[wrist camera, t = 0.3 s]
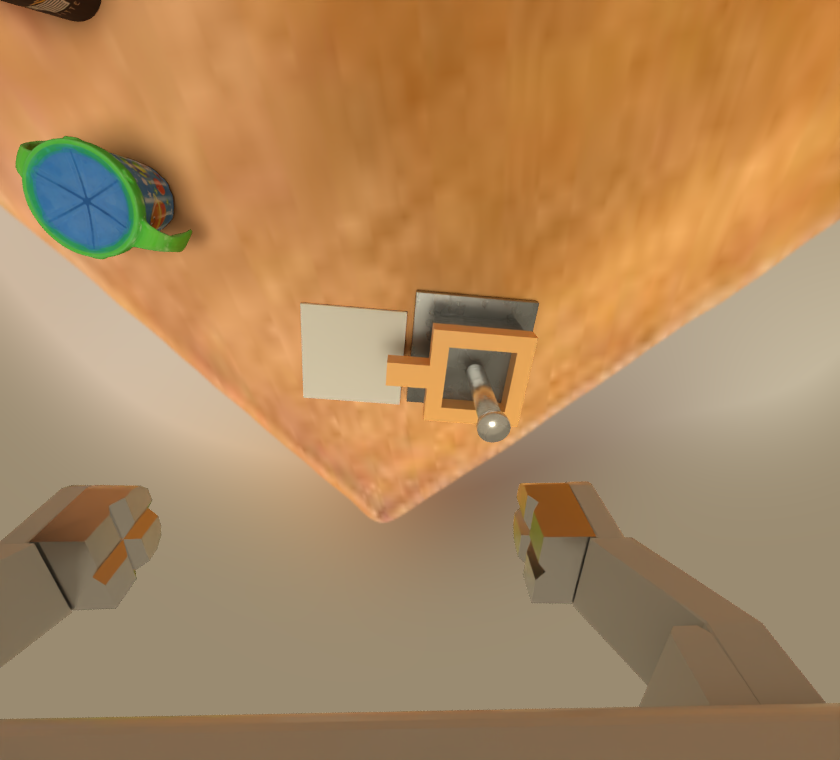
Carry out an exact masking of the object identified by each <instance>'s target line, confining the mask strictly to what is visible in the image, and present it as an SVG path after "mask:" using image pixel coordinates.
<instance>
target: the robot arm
mask: <svg viewBox="0 0 840 760" xmlns="http://www.w3.org/2000/svg"><path fill="white" fill-rule="evenodd" d="M517 500H518V503H519V506H520V508H519V509H518V510H517V511H516V512H515V513H514V522H513V534H514V543H515V548H516V551H517V555H518V557H519V558H520V559H521V560H522V561H523V562H524V563H525V565H524V573H523V576H524V579H525V583H526V586H527V589H528V593H529V596H530V599H531V603H564V604H573V607H575V609H576V610H577V611H578V612H579V613H580V614H581V615H582V616H583V617H584V618H585V619H586V620H587V621H588V623H589V624H590V625H591V626H592V627H593V628H594V629H595V630H596V631H597V632H598V633H599V634H600V635H601V636H602V637H603V639H604V640H605V641H606V642H607V643H608V644H609V645H610V646H611V647H612V648H613V649H614V650H615V651H616V652H617V654H618V655H619V656H620V657H621V658H622V659H623V660H624V661H625V662H626V663H627V664H628V665H629V666H630V667H631V668H632V670H633V671H634V672H635V673H636V674H637V675H638V676H639V677H640V678H641V679H642V680H643V681H644V682H645V683H646V684H647V689H646V691H645V693H644V696H643V698H642V700H641V703H640V705H639V707H607V708H606V707H605V708H557V709H556V708H552V709H504V710H503V709H500V710H454V711H453V710H449V711H397V712H348V713H347V712H346V713H298V714H297V713H296V714H243V715H196V716H195V715H193V716H192V715H191V716H145V717H144V716H143V717H91V718H90V717H88V718H41V719H40V718H35V719H0V760H840V703H826V702H825V701H824V700H823V699H822V697H821V696H820V695H819V694H818V693H817V691H816V690H815V689H814V688H813V686H812V685H811V684H810V683H809V681H808V680H807V679H806V677H805V676H804V675H803V674H802V673H801V671H800V670H799V669H798V667H797V666H796V665H795V664H794V662H793V661H792V660H791V659H790V657H789V656H788V655H787V654H786V652H785V651H784V650H783V649H782V647H780V645H779V644H778V642H777V641H776V640H775V639H774V637H773V636H772V635H771V634H770V632H769V631H768V630H767V629H766V627H765V626H764V625H763V624H762V623H761V622H760V621H758V620H757V619H755V618H754V617H752V616H751V615H749V614H747V613H746V612H745V611H743V610H741V609H740V608H738V607H737V606H735V605H734V604H732V603H731V602H729V601H728V600H726V599H725V598H723V597H722V596H720V595H719V594H717V593H716V592H714V591H712V590H711V589H709V588H708V587H706V586H705V585H703V584H702V583H700V582H699V581H697V580H696V579H694V578H693V577H691V576H690V575H688V574H687V573H685V572H684V571H682V570H681V569H679V568H677V567H676V566H675V565H673V564H671V563H670V562H668V561H667V560H665V559H664V558H662V557H660V556H659V555H658V554H656V553H655V552H653V551H652V550H650V549H649V548H647V547H646V546H644V545H643V544H641V543H639V542H638V541H637V540H635V539H633V538H630V537H629V538H628V537H624V535H623V534H622V532H621V531H620V529H619V527H618V526H617V524H616V522H615V521H614V519H613V518H612V516H611V515H610V513H609V511H608V509H607V508H606V506H605V505H604V503H603V501H602V500H601V498H600V497H599V495H598V493H597V492H596V490H595V488H594V487H593V485H592V484H591V483H589V482H565V483H520V485H519V487H518V492H517ZM151 502H152V498H151V495H150V493H149V491H148V488H145V487H142V486H124V485H94V486H92V485H71V486H67V487H64V488H62V489H61V490H59V491H58V492H57V493H56V494H55V495H54V496H52V497H51V498H50V499H49V500H48V501H47V502H46V503H44V504H43V505H42V506H41V507H40V508H39V509H37V510H36V511H35V512H34V513H33V514H31V515H30V516H29V517H28V518H27V519H26V520H25V521H24V522H23V523H21V524H20V525H19V526H18V527H16V528H15V529H14V530H13V531H12V532H11V533H10V534H8V535H7V536H6V537H5V538H4V539H3V540H1V541H0V668H1V667H2V666H3V665H4V664H6V663H7V662H8V661H10V660H11V659H12V658H13V657H15V656H16V655H18V654H19V653H20V652H21V651H23V650H24V649H25V648H27V647H28V646H29V645H30V644H32V643H33V642H34V641H36V640H37V639H38V638H40V637H41V636H42V635H44V634H45V633H46V632H47V631H49V630H50V629H51V628H53V627H54V626H55V625H56V624H58V623H59V622H60V621H61V620H63V619H64V618H66V617H67V616H68V615H69V614H71V613H72V611H71V610H92V609H116V608H117V607H118V605H119V604H120V602H121V601H122V599H123V598H124V597H125V595H126V594H127V592H128V591H129V589H130V588H131V587H132V585H133V584H134V582H135V581H136V579H137V577H136V569H138V568H139V567H141V566H142V565H144V564H145V563H147V562H148V561H150V559H151V557H152V556H153V555H154V553H155V551H156V550H157V548H158V544H159V541H160V538H161V523H160V520H159V517H158V516H157V515H156V514H155V513H154V512H152V511H151V510H150V509H149V508H148V507H149V505H150V504H151Z"/></svg>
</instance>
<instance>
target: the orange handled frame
mask: <svg viewBox="0 0 840 760" xmlns="http://www.w3.org/2000/svg"><path fill="white" fill-rule="evenodd" d="M537 341H538V337H537V336H536V335H535V334H534V332H533V331H523V330H511V329H499V328H488V327H476V326H464V325H453V324H441V323H433V326H432V335H431V344H430V353H429V358H424V357H411V356H399V355H388V360H387V372H386V385H387V386H400V387H413V388H425V397H424V406H423V420H425V421H439V422H453V423H467V424H477V420H478V416H477V412H476V409H475V405H474V402H473V401H468V400H455V399H442V398H443V390H444V383H445V376H446V368H447V361H448V353H449V347H450V348H462V349H474V350H486V351H498V352H511V357H510V362H509V367H508V372H507V377H506V381H505V386H504V391H503V396H502V401H501V403H498V406H499V408H500V411H501V412H503V413H504V414H505V415H506V416H507V418H508V420H509V422H510V426H511V427H518V422H519V418H520V414H521V410H522V405H523V401H524V397H525V392H526V388H527V384H528V380H529V375H530V371H531V367H532V363H533V358H534V354H535V350H536V346H537Z"/></svg>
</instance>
